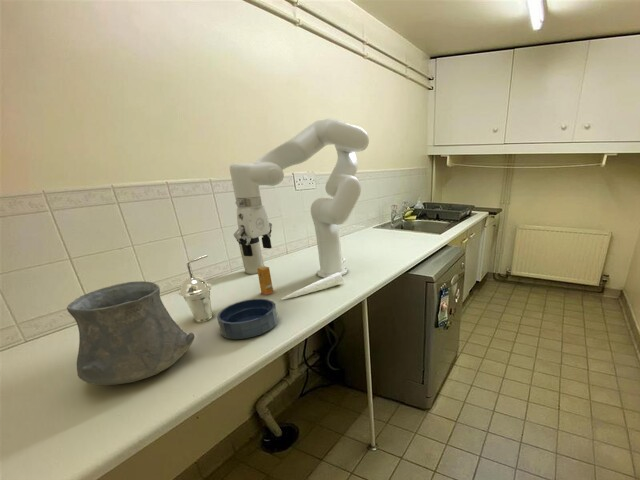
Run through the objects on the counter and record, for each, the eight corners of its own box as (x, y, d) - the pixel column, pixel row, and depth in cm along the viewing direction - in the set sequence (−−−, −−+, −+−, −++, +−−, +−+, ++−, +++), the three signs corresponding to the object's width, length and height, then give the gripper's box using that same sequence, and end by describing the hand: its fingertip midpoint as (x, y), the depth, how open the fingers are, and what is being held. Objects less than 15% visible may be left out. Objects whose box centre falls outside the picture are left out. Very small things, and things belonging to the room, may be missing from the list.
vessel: (184, 387, 69) (156, 307, 62) (60, 410, 63) (13, 325, 56) (212, 336, 88) (193, 270, 81) (119, 350, 83) (90, 281, 75)
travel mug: (254, 275, 133) (245, 234, 126) (241, 272, 136) (231, 232, 129) (269, 269, 139) (261, 229, 133) (256, 266, 143) (248, 228, 136)
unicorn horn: (277, 297, 112) (275, 285, 110) (339, 281, 125) (338, 270, 123) (281, 302, 108) (279, 289, 106) (344, 285, 121) (343, 273, 119)
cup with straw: (194, 313, 101) (176, 255, 94) (224, 310, 103) (209, 252, 96) (183, 327, 93) (163, 264, 86) (216, 322, 95) (199, 261, 88)
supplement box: (274, 292, 116) (269, 266, 112) (266, 295, 113) (261, 269, 110) (269, 290, 118) (264, 265, 114) (260, 293, 115) (255, 268, 111)
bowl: (247, 311, 102) (244, 296, 100) (288, 316, 98) (286, 301, 96) (208, 337, 88) (203, 320, 86) (254, 344, 84) (250, 326, 82)
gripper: (239, 206, 95) (250, 260, 101) (275, 199, 110) (282, 246, 116) (218, 206, 96) (230, 258, 102) (257, 198, 112) (265, 244, 118)
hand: (258, 251), depth 109 cm, fingers open, 9 cm apart
